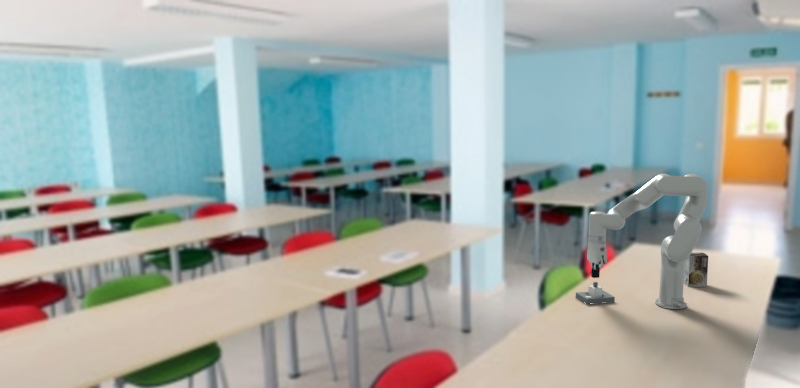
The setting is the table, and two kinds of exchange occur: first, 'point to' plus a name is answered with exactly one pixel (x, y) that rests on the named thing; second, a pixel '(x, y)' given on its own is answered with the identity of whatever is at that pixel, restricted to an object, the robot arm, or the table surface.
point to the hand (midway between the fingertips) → (595, 277)
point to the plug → (595, 290)
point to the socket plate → (588, 299)
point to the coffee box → (696, 270)
